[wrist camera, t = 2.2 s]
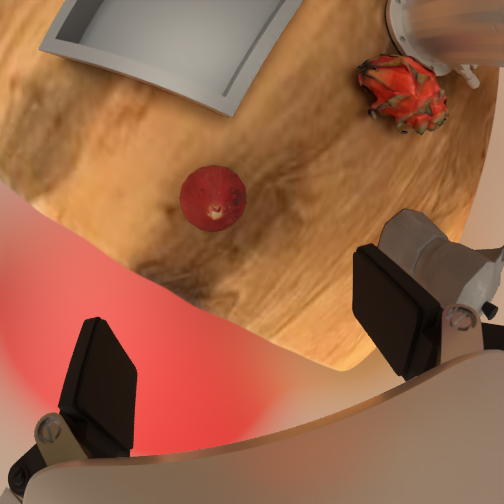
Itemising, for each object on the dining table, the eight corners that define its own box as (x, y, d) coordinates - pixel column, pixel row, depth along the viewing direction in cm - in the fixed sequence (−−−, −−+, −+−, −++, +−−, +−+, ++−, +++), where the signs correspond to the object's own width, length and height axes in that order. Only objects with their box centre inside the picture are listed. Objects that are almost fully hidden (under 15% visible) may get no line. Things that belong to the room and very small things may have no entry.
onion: (236, 155, 28) (252, 171, 21) (242, 209, 30) (258, 242, 23) (177, 165, 27) (171, 184, 20) (186, 219, 30) (186, 255, 23)
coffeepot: (410, 182, 33) (521, 242, 17) (442, 216, 36) (532, 277, 21) (345, 277, 37) (423, 376, 22) (384, 298, 41) (454, 381, 25)
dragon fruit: (413, 121, 31) (334, 79, 28) (449, 76, 23) (366, 22, 21) (432, 163, 26) (341, 115, 24) (479, 113, 19) (385, 45, 17)
